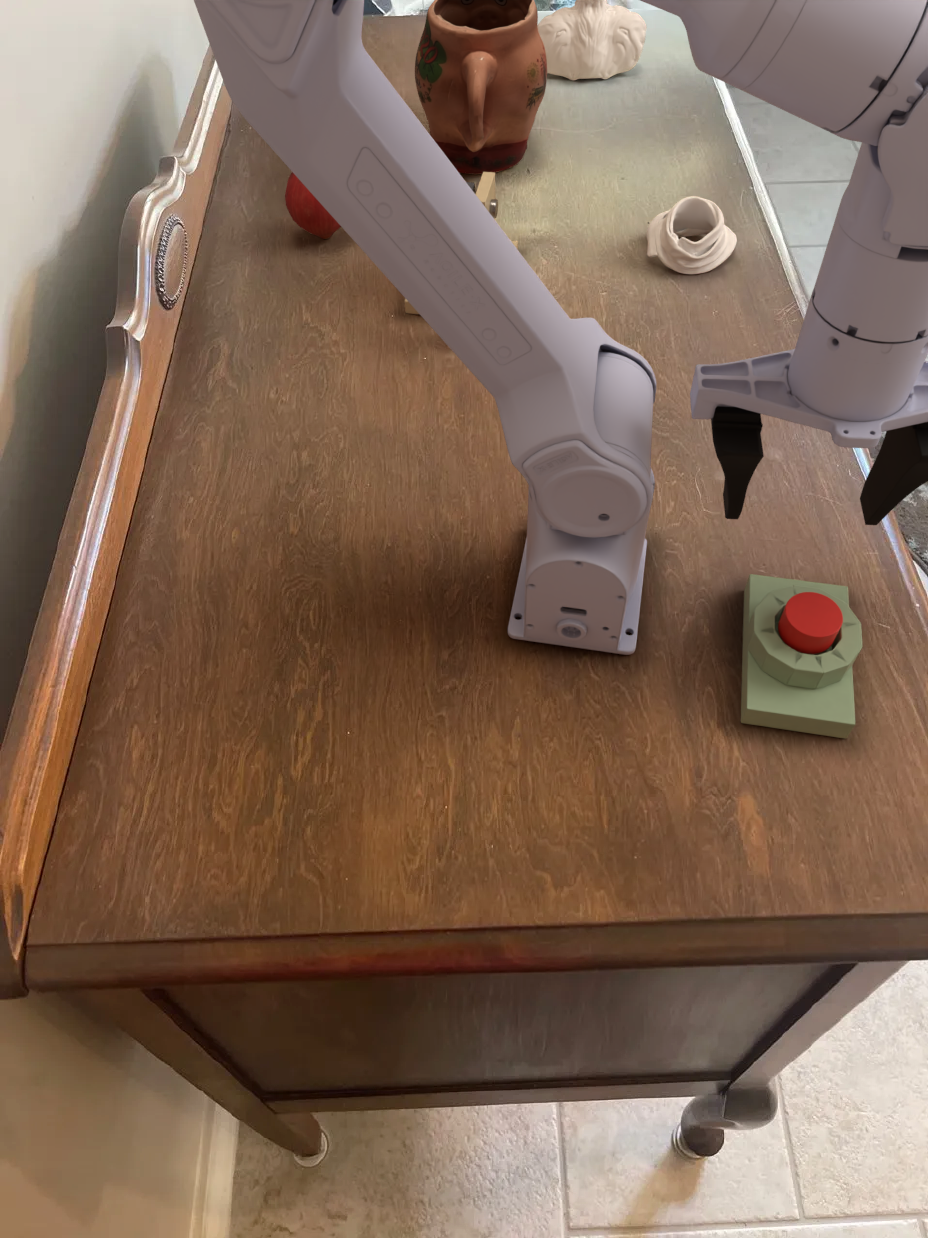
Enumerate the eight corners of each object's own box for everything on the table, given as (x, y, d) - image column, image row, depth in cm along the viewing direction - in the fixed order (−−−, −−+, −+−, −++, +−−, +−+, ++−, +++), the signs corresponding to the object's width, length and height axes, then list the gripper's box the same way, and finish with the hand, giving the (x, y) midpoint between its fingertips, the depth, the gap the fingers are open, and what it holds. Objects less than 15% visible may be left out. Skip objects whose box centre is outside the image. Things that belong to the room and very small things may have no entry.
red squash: (281, 245, 84) (262, 159, 78) (315, 213, 87) (300, 127, 81) (334, 261, 82) (320, 174, 76) (368, 228, 85) (357, 141, 79)
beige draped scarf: (723, 239, 84) (737, 185, 80) (740, 277, 79) (755, 222, 76) (636, 238, 83) (646, 183, 80) (648, 275, 79) (659, 220, 75)
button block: (847, 739, 53) (867, 708, 50) (739, 723, 54) (752, 692, 51) (840, 602, 59) (858, 567, 56) (743, 589, 60) (755, 555, 57)
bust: (639, 86, 104) (641, -30, 101) (650, 67, 97) (654, -59, 93) (533, 90, 104) (532, -25, 101) (536, 71, 97) (536, -54, 94)
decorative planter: (553, 213, 86) (561, 51, 74) (423, 220, 86) (411, 60, 74) (534, 108, 97) (538, -45, 86) (419, 115, 97) (408, -38, 86)
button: (835, 657, 53) (844, 640, 51) (777, 649, 53) (785, 632, 52) (833, 613, 54) (842, 595, 53) (777, 606, 55) (785, 588, 53)
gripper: (719, 356, 40) (672, 557, 51) (1072, 366, 38) (946, 569, 49) (709, 260, 44) (668, 465, 55) (1028, 266, 42) (920, 475, 53)
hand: (799, 509), depth 52 cm, fingers open, 7 cm apart
